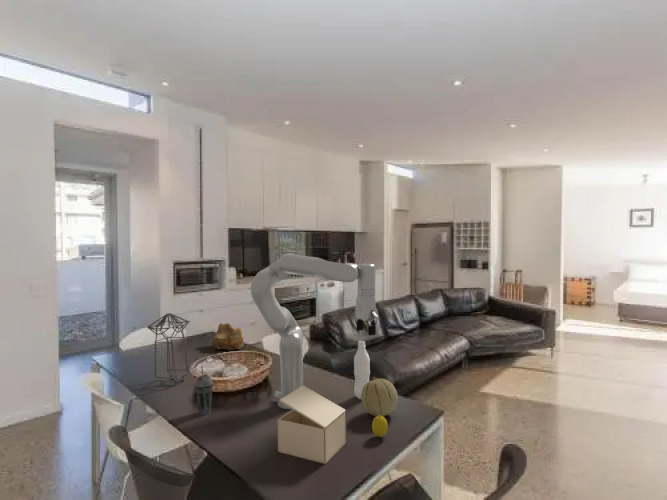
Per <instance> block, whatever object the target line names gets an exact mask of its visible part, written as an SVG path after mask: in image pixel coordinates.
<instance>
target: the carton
mask: <svg viewBox="0 0 667 500" xmlns="http://www.w3.org/2000/svg"><path fill="white" fill-rule="evenodd" d="M276 425H277V453H280V454H284V455H288V456H293V457H296V458H301V459H304V460H308V461H312V462H316V463H320V464H324V465H326V464H327V463H328V462H329V461H330V460H332V458H333V457H334V456H336V454H337V453H338V452H339V451H340V450H341V449H342V448H343V447H344V446H345V445H346V444H347V436H346V435H347V433H346V432H347V431H346V428H347V427H346V411H345V412H344V413H343V414H342V415H341V416H339V417H338V418H337V419H336V420H335V421H334V422H332V423H331V424H330V425H329V426H328V427H326V428H325V429H324V428H323V427H321V426H320V425H318V424H316V423H315V422H313V421H311V420H310V419H308V418H306V417H305V416H303V415H302V414H300V413H298V412H297V411H295V410H293V409H290V411H288V412H287V413H285V414H284V415H282V416H281V417H279V418H278V419H277V424H276Z"/></svg>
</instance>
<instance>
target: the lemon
mask: <svg viewBox="0 0 667 500" xmlns="http://www.w3.org/2000/svg"><path fill="white" fill-rule="evenodd" d="M371 428H372V429H371V430H372V433H373V434H374V435H376V437H378V438H382V437H383V436H385V435H386V434H387V432H388V429H389V427H388V421H387V419H386V418H385V416H381V415H379V416H374V417H373V420H372V424H371Z"/></svg>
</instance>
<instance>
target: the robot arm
mask: <svg viewBox="0 0 667 500" xmlns="http://www.w3.org/2000/svg"><path fill="white" fill-rule="evenodd" d="M290 275H294V276H303V277H308V278H316V279H321V280H329V281H335V282H341V283H353V282H354V281H356V280H357V294H356V299H355V310H354V315H355V316H354V317H355V320H356V332H357V331H363V330H364V322H366V321H367V322H368V326H367V327H368V331H367V333H368V336H375V335H376V333H377V332H376V328H377V327H376V326H377V323H378V320H379V316H378V314H377V307H376V305H377V304H376V303H377V301H376V265H375V264H373V263H352V262H346V263H340V262H335V261H329V260H326V259H324V258H320V257H317V256H316V257H315V256H308V255H300V254H294V253H292V252H287V253H285V254H283V255H282V256H281V257H280V258H278V259H277V260H275V261H274V262H273V263H271V264H269V265H268V266H267V267H265V268H263V269H261V270H260V271H258V272H257V273H256V275H254V277H253V280H251V281H252V282H251V285H250V295H251V298H252V300H253V302H254V303H255V305H256V307H257V309H258V311H259V313H260V314H261V316H262V317H263V318H264V320H265V322H266V324H267V326H268V327H269V329H270V330H271V331H273V332H276V333H278V335H279V337H280V340H279V345H278V346H279V359H280V360H279V361H280V362H279V363H280V391H278V390H276V391H275V392H274V396H273V397H274V398H277V399H278V400H277V406H278V407H279V408H280V409H283V410H293V409H292V408H290V407H289V406H287V405H285V404H284V403H282V402H280V399H282V398H284V397H285V396H287V395H289V394H290V393H292V392H293V391H295V390H297V389H298V388H300V387H302V386H303V385H304V367H303V366H304V365H303V363H304V361H303V343H304V339H305V338H304V333H303V330H302V329H301V326H299V324H298V322H297V321H296V319H295V318H294V316H293V315H292V313H291V312H290V310H289V309H288V308H286V307H284V306H281V304H280V303H279V301H278V299H277V298H276V296H275V295H274V294H273V292H272V288H273V287H274V286H276V285H277V284H278V283H280V282H281V281H282V280H284V279H285V278H287V277H288V276H290Z"/></svg>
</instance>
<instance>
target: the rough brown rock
mask: <svg viewBox="0 0 667 500" xmlns="http://www.w3.org/2000/svg"><path fill="white" fill-rule="evenodd" d="M217 327H218V328H217V331H216V333H215V334H214V337H213V339H212V341H211V344H212V346H213V348H214V349H215V348H219V349H218V350H221V349H222V350H226V349H229V350H233V351H237V350H236V349H238V350H240V349H242V348H243V347H244V345H245V343H244V342H245V341H244V337H243V332H242V329H241V328H239V327H237V328H234V327H233V326H232V325H231V323H228V322H227V323H219V324H218V326H217ZM229 350H228V351H229Z"/></svg>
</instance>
